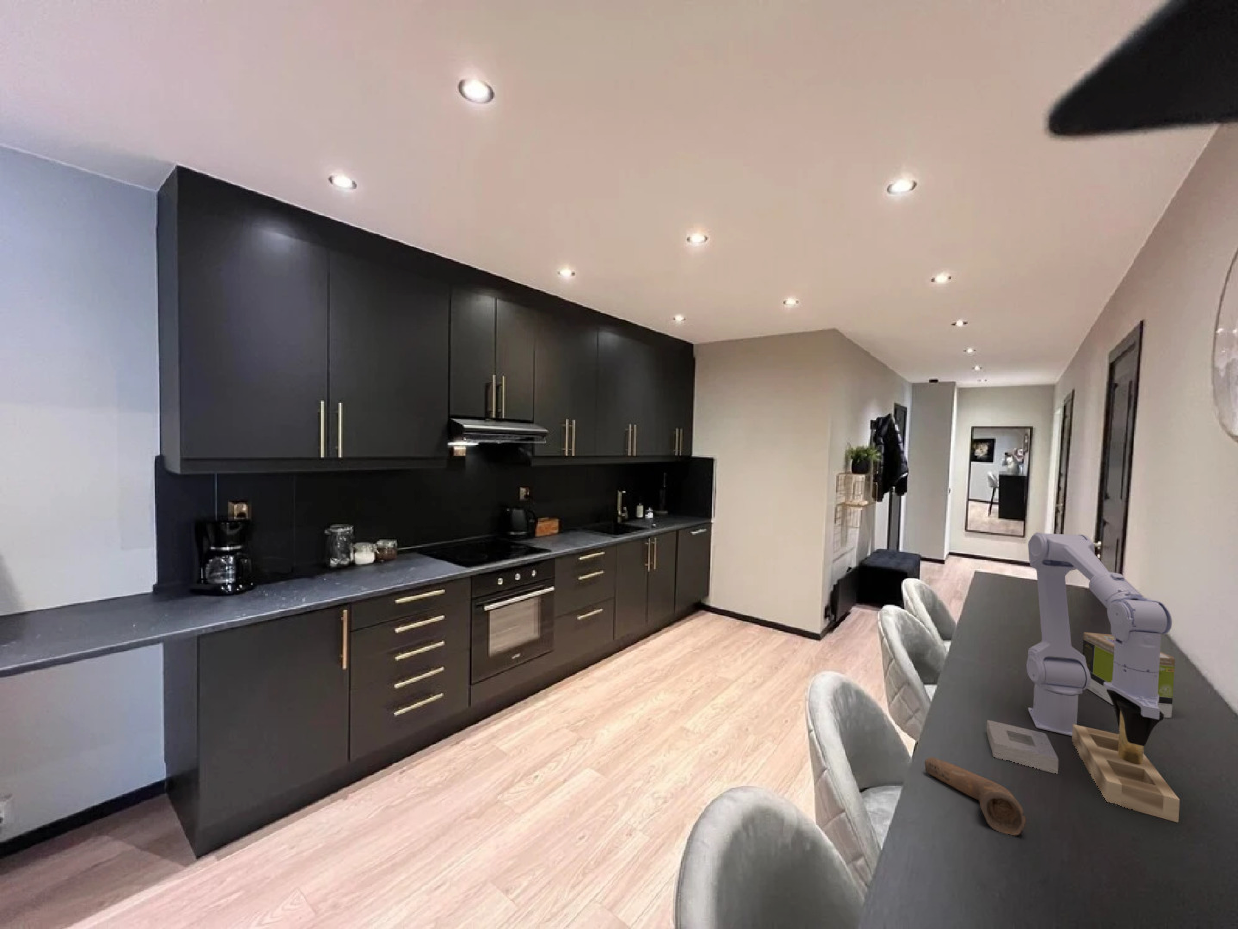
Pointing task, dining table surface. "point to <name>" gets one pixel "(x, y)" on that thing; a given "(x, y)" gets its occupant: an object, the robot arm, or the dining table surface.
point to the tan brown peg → (1129, 747)
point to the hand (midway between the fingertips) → (1131, 738)
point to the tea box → (1101, 669)
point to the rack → (1124, 775)
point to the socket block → (1022, 746)
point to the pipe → (982, 795)
